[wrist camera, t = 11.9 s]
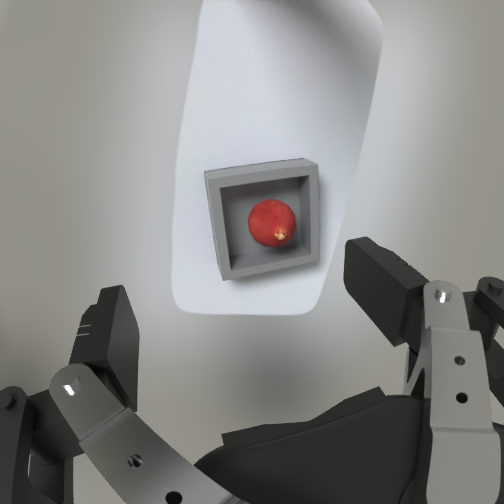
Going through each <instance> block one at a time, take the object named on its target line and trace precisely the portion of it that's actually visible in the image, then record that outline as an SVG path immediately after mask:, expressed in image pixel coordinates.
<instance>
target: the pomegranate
mask: <svg viewBox="0 0 504 504" xmlns="http://www.w3.org/2000/svg"><path fill="white" fill-rule="evenodd" d="M248 228H249V232H250V234H251V236H252V237H253V239H254V240H255V241H256V242H258V243H259V244H261V245H263V246H266V247H272V248H273V247H279V246H282V245H284V244H286V243H288V242H289V240H290V239H291V238H292V237H293V235H294V232H295V229H296V219H295V214H294V213H293V211H292V210H291V208H290V207H289V206H288V205H287V204H285V203H284V202H282V201H279V200H275V199H267V200H263V201H261V202H259V203H258V204H256V205H255V206H254V207H253V209H252V210H251V212H250V214H249V217H248Z"/></svg>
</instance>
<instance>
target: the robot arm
mask: <svg viewBox="0 0 504 504" xmlns="http://www.w3.org/2000/svg"><path fill="white" fill-rule="evenodd" d="M344 284H345V287H346V290H347V291H348V293H349V294H350V295H351V296H352V298H353V299H354V300H355V301H356V302H357V303H358V305H359V306H360V307H361V308H362V309H363V310H364V312H365V313H366V314H367V315H368V316H369V318H370V319H371V320H372V321H373V322H374V323H375V325H376V326H377V327H378V328H379V329H380V331H381V332H382V333H383V334H384V335H385V336H386V338H387V339H388V340H389V341H390V343H391V344H392V345H393V346H394V347H395V346H398V345H400V344H403V343H405V342H407V343H408V345H409V346H408V349H407V354H406V367H405V377H404V387H403V394H402V395H387V396H385V394H384V393H383V392H382V390H381V388H380V387H379V386H378V387H376V388H373V389H371V390H368V391H366V392H363V393H361V394H358V395H356V396H353V397H350V398H347V399H345V400H343V401H342V402H340V403H339V404H337V405H336V406H334V407H332V408H331V409H329V410H328V411H326V412H324V413H323V414H321V415H319V416H318V417H316V418H314V419H312V420H310V421H307V422H297V423H283V424H264V425H259V426H255V427H251V428H247V429H242V430H238V431H233V432H229V433H224V434H222V438H223V443H224V445H223V446H221V447H218V448H216V449H215V450H213V451H211V452H209V453H208V454H206V455H205V456H203V457H202V458H201V459H199V460H198V461H197V462H196V463H195V464H194V465H192V464H191V463H190V462H189V461H187V460H186V459H185V458H184V457H183V456H181V455H180V454H179V453H178V452H177V451H176V450H174V449H173V448H172V447H171V446H170V445H168V444H167V443H166V442H165V441H164V440H163V439H162V438H161V437H160V436H159V435H158V434H156V433H155V432H154V431H153V430H152V429H151V428H150V427H149V426H148V425H147V424H146V423H145V422H144V421H143V420H142V419H141V418H140V417H139V416H137V415H136V414H135V412H137V385H138V356H139V329H138V324H137V321H136V318H135V315H134V313H133V310H132V307H131V305H130V302H129V299H128V296H127V293H126V291H125V288H124V286H123V285H118V286H112V287H107V288H102V289H101V291H100V295H99V298H98V302H97V304H95V305H90V307H89V308H88V309H87V310H86V312H85V313H84V314H83V316H82V318H81V322H80V328H79V329H78V332H77V336H76V339H75V342H74V346H73V350H72V353H71V357H70V361H69V365H67V366H65V367H63V368H61V369H60V370H59V371H58V372H56V374H55V375H54V376H53V377H52V379H51V381H50V384H49V389H47V390H45V391H43V392H40V393H37V394H34V395H31V396H29V397H28V396H27V395H26V393H25V392H24V391H23V389H21V388H20V387H17V386H10V387H7V388H5V389H3V390H1V391H0V504H74V502H73V457H75V456H77V455H80V454H83V453H85V454H86V455H87V456H88V457H89V459H90V460H91V462H92V463H93V464H94V466H95V467H96V468H97V469H98V471H99V472H100V473H101V475H102V476H103V477H104V478H105V480H106V481H107V482H108V483H109V484H110V486H111V487H112V488H113V489H114V490H115V491H116V493H117V494H118V495H119V496H120V497H121V498H122V499H123V501H124V502H125V503H126V504H504V425H501V424H497V423H494V422H492V412H491V401H490V390H491V392H492V393H493V394H494V395H495V397H496V398H497V399H498V401H499V402H500V403H501V405H502V406H503V407H504V349H503V348H502V347H501V346H500V345H499V344H498V343H497V342H496V340H495V339H494V337H495V335H496V333H497V330H498V328H499V326H501V327H502V328H503V329H504V281H502V280H500V279H498V278H495V277H483V278H481V279H480V280H479V282H478V285H477V289H476V291H472V292H461V290H460V289H459V288H458V287H457V286H455V285H454V284H452V283H449V282H446V281H439V280H436V281H431V282H430V281H428V280H427V279H426V278H425V277H424V276H423V275H421V274H420V273H419V272H418V271H417V270H415V269H414V268H413V267H411V266H410V265H408V263H407V262H405V261H404V260H403V259H402V260H401V258H400V257H399V256H398V255H396V254H395V253H394V252H393V251H390V250H388V249H386V248H383V247H381V246H378V245H377V244H376V243H375V242H373V241H372V240H371V239H370V238H368V237H361V238H357V239H351V240H348V241H347V242H346V245H345V260H344ZM489 389H490V390H489ZM29 455H31V459H30V469H29V477H28V464H29Z"/></svg>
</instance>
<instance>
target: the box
mask: <svg viewBox="0 0 504 504" xmlns="http://www.w3.org/2000/svg"><path fill="white" fill-rule="evenodd" d="M204 176H205V183H206V190H207V197H208V204H209V211H210V218H211V224H212V231H213V237H214V244H215V250H216V256H217V262H218V267H219V270H220V273H221V276H222V280H223V281H225V280H230V279H235V278H240V277H245V276H250V275H254V274H259V273H264V272H269V271H274V270H279V269H283V268H288V267H293V266H297V265H302V264H307V263H311V262H316V261H319V181H318V164H316V163H314V162H311V161H309V160H307V159H305V158H300V159H291V160H282V161H274V162H266V163H258V164H251V165H244V166H237V167H230V168H223V169H217V170H211V171H205V172H204ZM267 199H275V200H279V201H282V202H284V203H285V204H287V205H288V206H289V207H290V208H291V210H292V211H293V213H294V214H295V219H296V229H295V232H294V235H293V237H292V238H291V239H290V240H289V242H288V243H286V244H284V245H282V246H279V247H273V248H272V247H266V246H263V245H261V244H259V243H258V242H256V241H255V240H254V239H253V237H252V236H251V234H250V232H249V228H248V217H249V214H250V212H251V210H252V209H253V207H254V206H255V205H256V204H258V203H259V202H261V201H263V200H267Z"/></svg>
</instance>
